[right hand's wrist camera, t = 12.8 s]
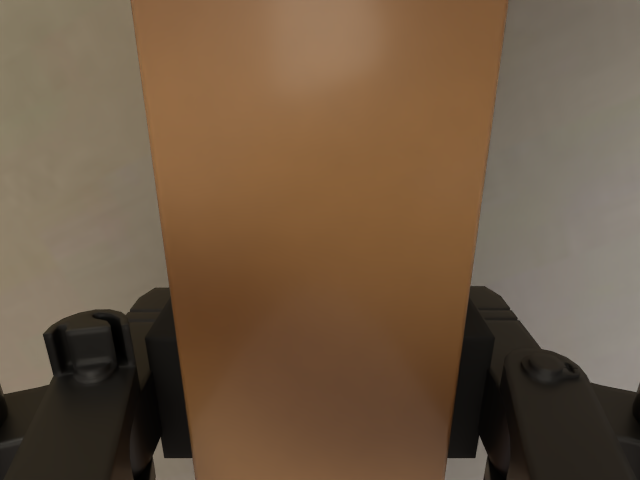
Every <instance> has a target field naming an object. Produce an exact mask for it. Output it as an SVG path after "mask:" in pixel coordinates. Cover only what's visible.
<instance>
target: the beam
mask: <svg viewBox="0 0 640 480" xmlns="http://www.w3.org/2000/svg"><path fill="white" fill-rule="evenodd" d="M508 2H509V0H131V7H132V14H133V22H134V29H135V36H136V44H137V51H138V59H139V66H140V73H141V81H142V88H143V95H144V103H145V110H146V118H147V125H148V132H149V140H150V147H151V155H152V162H153V169H154V177H155V184H156V192H157V199H158V206H159V214H160V221H161V228H162V236H163V243H164V251H165V258H166V265H167V273H168V280H169V288H170V295H171V302H172V310H173V317H174V324H175V332H176V339H177V347H178V354H179V361H180V369H181V376H182V384H183V391H184V398H185V406H186V413H187V421H188V428H189V435H190V443H191V450H192V457H193V465H194V472H195V480H444V479H445V471H446V464H447V456H448V449H449V441H450V434H451V426H452V419H453V412H454V404H455V397H456V389H457V382H458V374H459V367H460V359H461V352H462V344H463V337H464V330H465V322H466V315H467V307H468V300H469V292H470V285H471V277H472V270H473V263H474V255H475V248H476V240H477V233H478V225H479V218H480V210H481V203H482V195H483V188H484V181H485V173H486V166H487V158H488V151H489V143H490V136H491V128H492V121H493V114H494V106H495V99H496V91H497V84H498V76H499V69H500V61H501V54H502V46H503V39H504V32H505V24H506V17H507V9H508Z"/></svg>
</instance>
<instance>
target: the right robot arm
mask: <svg viewBox="0 0 640 480" xmlns="http://www.w3.org/2000/svg"><path fill="white" fill-rule="evenodd" d="M43 337H44V340H45V344H46V348H47V352H48V356H49V360H50V364H51V367H52V371H53V375H54V376H53V378H52V380H51V382H50V384H49V385H46V386H42V387H38V388H33V389H28V390H23V391H18V392H13V393H8V394H3V391H2V388H1V385H0V480H155V477H156V475H155V468H154V462H153V454H154V451H155V449H156V447H157V444H158V442H159V439H160V437H161V441H162V447H163V453H164V458H193V457H192V450H191V443H190V435H189V428H188V421H187V413H186V406H185V398H184V391H183V384H182V376H181V369H180V361H179V354H178V347H177V339H176V332H175V324H174V317H173V310H172V302H171V295H170V288H154V289H152V290H151V291H149V292H148V293H146V294H145V295H143V296H141V297H140V298H139V299H138V300H137V301H136V303H135V304H134V305H133V307H132V308H131V309H130V312H128V313H127V314H126V315H124V314H123V313H122V312H119V311H114V310H110V309H108V310H91V311H86V312H81V313H77V314H74V315H72V316H69V317H66V318H64V319H62V320H60V321H58V322H57V323H55V324H53V325H52V326H50V327H49V328H48V330H47V331H46V332H45V333H44V334H43ZM479 435H480V438H481V440H482V442H483V445H484V447H485V450H486V452H487V454H488V456H487V462H486V468H485V473H484V479H483V480H640V384H639V387H638V390H637V392H632V391H627V390H622V389H617V388H612V387H607V386H602V385H598V384H594V383H590V382H589V379H588V377H587V375H586V374H585V373H584V372H583V370H582V369H581V368H580V367H579V366H578V365H577V364H575V363H574V362H573V361H571V360H570V359H568V358H567V357H564V356H562V355H560V354H557V353H555V352H552V351H548V350H544V349H541V348H540V347H539V345H538V344H537V343H536V341H535V340H534V339H533V338H532V336H531V335H530V334H529V332H528V331H527V330H526V328H525V327H524V326H523V325H522V323H521V322H520V321H519V320H517V317H516V315H515V314H514V313H513V312H512V310H510V308H509V306H508V305H507V304H506V302H505V301H504V300H503V299H502V297H501V296H499V295H498V294H496V293H495V292H493V291H491V290H490V289H488V288H487V287H485V286H470V292H469V300H468V307H467V315H466V322H465V330H464V337H463V344H462V352H461V359H460V367H459V374H458V382H457V389H456V397H455V404H454V412H453V419H452V426H451V434H450V441H449V449H448V456H447V458H475V457H476V451H477V445H478V439H479Z"/></svg>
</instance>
